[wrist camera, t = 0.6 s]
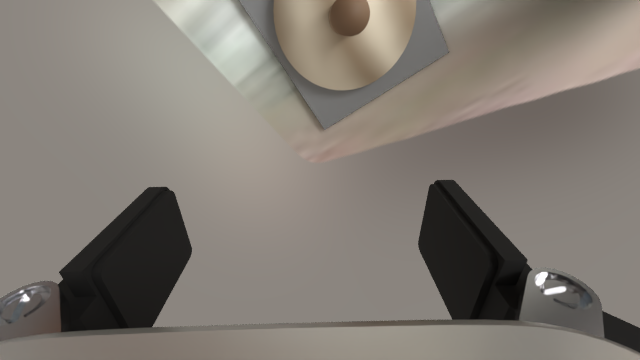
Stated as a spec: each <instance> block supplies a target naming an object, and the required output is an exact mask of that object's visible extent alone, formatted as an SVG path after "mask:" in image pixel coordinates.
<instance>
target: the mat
mask: <svg viewBox="0 0 640 360" xmlns="http://www.w3.org/2000/svg"><path fill="white" fill-rule="evenodd" d="M239 1H240V3H241V4H242V6H243V7H244V9H245V10H246V12H247V13H248V15H249V16H250V18H251V19H252V21H253V22H254V24H255V25H256V27H257V28H258V30H259V31H260V33H261V34H262V36H263V37H264V39H265V40H266V42H267V43H268V45H269V46H270V48H271V49H272V51H273V53H274V54H275V56H276V57H277V59H278V60H279V62H280V63H281V65H282V66H283V68H284V69H285V71H286V72H287V74H288V75H289V77H290V78H291V80H292V81H293V83H294V84H295V86H296V87H297V89H298V90H299V92H300V93H301V95H302V96H303V98H304V99H305V101H306V102H307V104H308V105H309V107H310V109H311V110H312V112H313V113H314V115H315V116H316V118H317V119H318V121H319V122H320V124H321V125H322V127H323V128H324V130H325V129H327V128H328V127H330V126H332V125H333V124H335V123H336V122H338V121H340V120H341V119H343V118H344V117H346V116H348V115H349V114H351V113H352V112H354V111H356V110H357V109H359V108H360V107H362V106H364V105H365V104H367V103H368V102H370V101H372V100H373V99H375V98H376V97H378V96H380V95H381V94H383V93H385V92H386V91H388V90H389V89H391V88H393V87H394V86H396V85H397V84H399V83H401V82H402V81H404V80H405V79H407V78H409V77H410V76H412V75H413V74H415V73H417V72H418V71H420V70H421V69H423V68H425V67H426V66H428V65H429V64H431V63H433V62H434V61H436V60H437V59H439V58H441V57H442V56H444V55H445V54H447V53H449V51H448V48H447V45H446V43H445V40H444V37H443V35H442V32H441V29H440V27H439V24H438V22H437V19H436V16H435V14H434V11H433V8H432V6H431V3H430V0H416V16H415V22H414V26H413V30H412V34H411V36H410V39H409V42H408V44H407V46H406V48H405V50H404V52H403V53H402V55H401V56H400V58H399V59H398V61H397V62H396V63H395V64H394V65H393V67H392V68H391V69H390V70H389V71H388V72H387V73H385V74H384V75H383V76H382V77H380V78H379V79H378V80H376V81H374V82H372V83H370V84H368V85H366V86H363V87H361V88H357V89H352V90H332V89H327V88H324V87H320V86H318V85H316V84H314V83H312V82H310V81H309V80H307V79H306V78H304V77H303V76H302V75H301V74H299V73H298V72H297V71H296V69H295V68H294V67H293V66H292V65H291V63H290V62H289V61H288V59H287V58H286V56H285V54H284V52H283V51H282V48H281V46H280V44H279V41H278V38H277V34H276V30H275V24H274V12H273V8H274V0H239Z"/></svg>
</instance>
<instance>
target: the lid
mask: <svg viewBox="0 0 640 360" xmlns="http://www.w3.org/2000/svg"><path fill="white" fill-rule="evenodd" d="M273 12H274V24H275V30H276V34H277V38H278V41H279V44H280V46H281V48H282V51H283V52H284V54H285V56H286V58H287V59H288V61H289V62H290V63H291V65H292V66H293V67H294V68H295V69H296V71H297V72H298V73H299V74H301V75H302V76H303V77H304V78H306V79H307V80H309V81H310V82H312V83H314V84H316V85H318V86H320V87H324V88H327V89H332V90H352V89H357V88H361V87H363V86H366V85H368V84H370V83H372V82H374V81H376V80H378V79H379V78H380V77H382V76H383V75H384V74H385V73H387V72H388V71H389V70H390V69H391V68H392V67H393V65H394V64H395V63H396V62H397V61H398V59H399V58H400V56H401V55H402V53H403V52H404V50H405V48H406V46H407V44H408V42H409V39H410V36H411V34H412V30H413V26H414V22H415V16H416V0H274V8H273Z"/></svg>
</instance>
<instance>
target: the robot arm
mask: <svg viewBox="0 0 640 360" xmlns="http://www.w3.org/2000/svg"><path fill="white" fill-rule="evenodd" d="M418 245H419V250H420V252H421V254H422V257H423V259H424V261H425V263H426V265H427V267H428V269H429V271H430V273H431V276H432V278H433V280H434V282H435V284H436V286H437V288H438V290H439V292H440V294H441V296H442V299H443V300H444V303H445V305H446V307H447V309H448V311H449V313H450V315H451V317H452V320H398V321H352V322H315V323H314V322H313V323H278V324H277V323H276V324H245V325H244V324H242V325H214V326H213V325H211V326H184V327H183V326H180V327H152V326H153V324H154V323H155V321H156V319H157V317H158V315H159V313H160V312H161V310H162V308H163V306H164V304H165V302H166V300H167V299H168V297H169V295H170V293H171V291H172V290H173V288H174V286H175V284H176V282H177V280H178V278H179V277H180V275H181V273H182V271H183V269H184V268H185V266H186V264H187V262H188V260H189V258H190V256H191V252H192V248H191V244H190V241H189V238H188V235H187V231H186V228H185V225H184V222H183V219H182V215H181V212H180V209H179V206H178V203H177V200H176V196H175V194H174V192H173V191H170V190H169V189H168V188H167V187H149V188H147V189H146V190H145V191H144V192H143V193H142V194H141V195H140V196H139V197H138V198H137V199H135V200H134V201H133V202H132V203H131V204H130V205H129V206H128V207H127V208H126V209H125V210H124V211H123V212H122V213H121V214H120V215H119V216H118V217H117V218H116V219H114V221H112V222H111V223H110V224H109V225H108V226H107V227H106V228H105V229H104V230H103V231H102V232H101V233H100V234H99V235H98V236H97V237H95V239H93V240H92V241H91V242H90V243H89V244H88V245H87V246H86V247H85V248H84V249H83V250H82V251H81V252H80V253H79V254H78V255H77V256H75V257H74V258H73V259H72V260H71V261H70V262H69V263H68V264H67V265H66V266H65V267H64V268H63V269H62V270H61V271H60V272H59V273H60V275H61V276H62V278H63V280H62V281H61V282H60V283H59V284H57V283H55V282H53V281H40V282H35V283H31V284H28V285H25V286H22V287H20V288H18V289H16V290H14V291H12V292H10V293H8V294H7V295H5V296H3V297H2V298H0V360H640V328H638V327H636V326H634V325H632V324H630V323H627V322H625V321H623V320H621V319H619V318H617V317H614V316H612V315H610V314H608V313H606V312H603V311H602V306H601V302H600V299H599V297H598V296H597V295H596V294H595V292H594V291H593V290H592V289H591V288H590V287H588V286H587V285H586V284H585V283H583V282H582V281H580V280H579V279H577V278H575V277H574V276H571V275H569V274H567V273H565V272H562V271H558V270H555V269H551V268H535V269H534V270H532V269H531V268H530V267H529V265H528V264H527V263H526V262H527V259H526V258H525V256H524V255H523V254H521V252H520V251H519V250H518V249H517V248H516V247H515V246H514V245H513V244H512V242H511V241H510V240H509V239H508V238H507V237H506V236H505V235H504V234H503V233H502V232H501V231H500V230H499V228H498V227H497V226H496V225H495V224H494V223H493V222H492V221H491V220H490V219H489V218H488V217H487V216H486V214H485V213H484V212H483V211H482V210H481V209H480V208H479V207H478V206H477V205H476V204H475V203H474V201H473V200H472V199H471V198H470V197H469V196H468V195H467V194H466V193H465V192H464V191H463V190H462V188H461V187H460V186H459V185H458V184H457V183H456V182H455V181H454V180H437V181H435V183H434V184H431V185H430V187H429V191H428V196H427V201H426V206H425V211H424V216H423V221H422V226H421V231H420V236H419V243H418Z"/></svg>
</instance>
